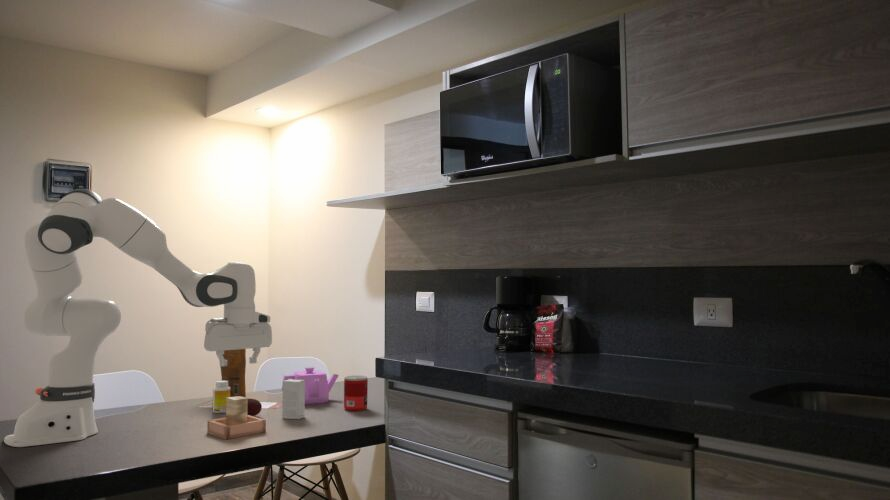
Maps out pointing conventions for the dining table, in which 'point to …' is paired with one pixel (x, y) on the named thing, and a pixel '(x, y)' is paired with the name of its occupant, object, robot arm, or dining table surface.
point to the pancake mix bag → (235, 371)
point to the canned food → (355, 393)
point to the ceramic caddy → (236, 428)
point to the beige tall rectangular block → (236, 410)
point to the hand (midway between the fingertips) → (238, 364)
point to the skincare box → (293, 399)
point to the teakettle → (314, 384)
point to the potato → (253, 407)
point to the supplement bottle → (220, 396)
